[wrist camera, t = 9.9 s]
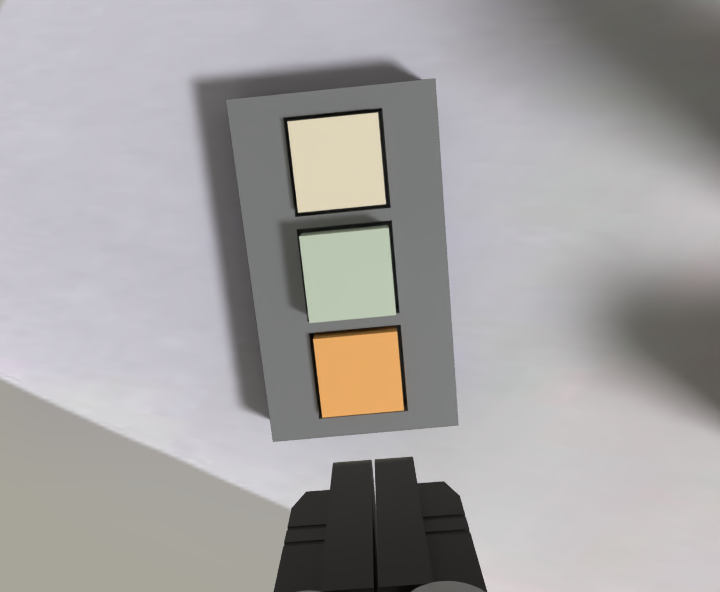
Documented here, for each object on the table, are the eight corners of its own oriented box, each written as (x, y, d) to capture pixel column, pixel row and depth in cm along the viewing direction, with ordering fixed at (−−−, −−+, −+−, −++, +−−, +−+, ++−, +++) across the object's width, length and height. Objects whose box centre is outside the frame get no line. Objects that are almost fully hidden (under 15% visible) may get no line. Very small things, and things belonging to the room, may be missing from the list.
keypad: (235, 104, 40) (225, 99, 37) (429, 84, 40) (435, 78, 37) (278, 423, 45) (273, 441, 42) (452, 408, 45) (458, 425, 42)
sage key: (302, 232, 39) (298, 236, 37) (387, 224, 39) (388, 227, 37) (311, 315, 41) (309, 323, 39) (394, 307, 40) (396, 315, 39)
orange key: (315, 331, 42) (313, 339, 40) (395, 323, 42) (397, 331, 40) (324, 406, 43) (322, 417, 41) (402, 399, 43) (403, 410, 41)
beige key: (291, 123, 39) (287, 121, 37) (377, 114, 39) (377, 112, 37) (301, 210, 40) (298, 212, 38) (384, 202, 40) (385, 204, 38)
